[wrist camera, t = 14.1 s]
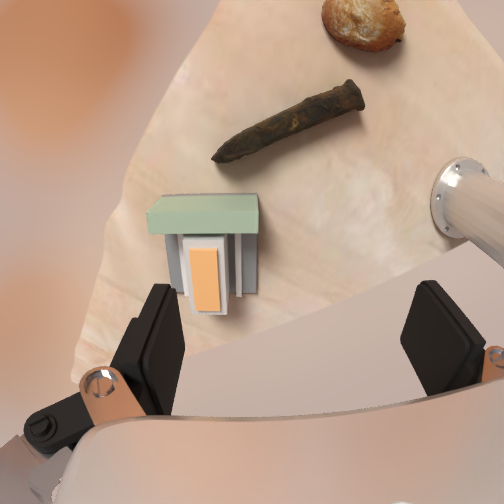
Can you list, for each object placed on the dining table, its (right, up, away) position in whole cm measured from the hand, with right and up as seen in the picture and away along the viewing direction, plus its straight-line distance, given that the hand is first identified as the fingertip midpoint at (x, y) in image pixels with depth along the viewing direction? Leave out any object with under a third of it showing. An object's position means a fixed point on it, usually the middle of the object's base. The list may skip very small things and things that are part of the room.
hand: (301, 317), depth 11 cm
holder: (-7, +2, +29) cm, 30 cm away
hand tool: (+2, +17, +23) cm, 29 cm away
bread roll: (+12, +31, +17) cm, 37 cm away
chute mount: (-7, +3, +30) cm, 31 cm away
